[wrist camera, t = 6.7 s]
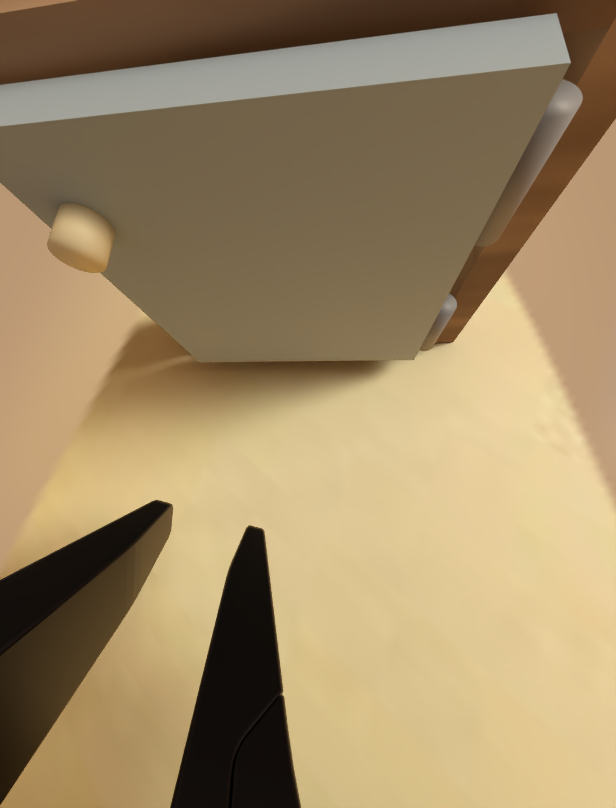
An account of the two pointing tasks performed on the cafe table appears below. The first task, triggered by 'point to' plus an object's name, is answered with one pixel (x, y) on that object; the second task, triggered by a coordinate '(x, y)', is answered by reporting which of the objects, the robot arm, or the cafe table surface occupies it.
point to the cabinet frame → (314, 24)
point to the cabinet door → (294, 182)
